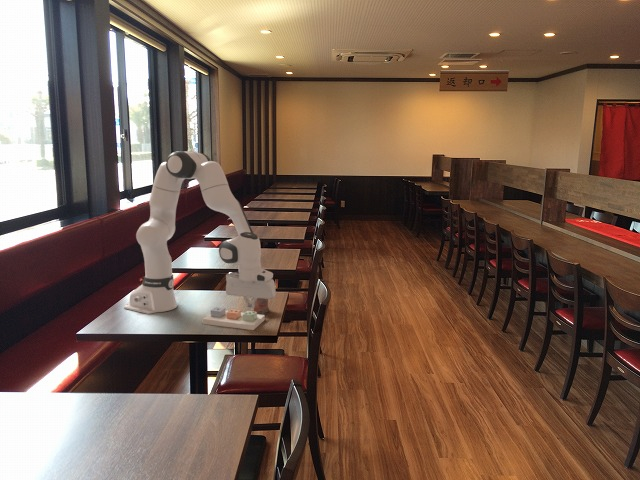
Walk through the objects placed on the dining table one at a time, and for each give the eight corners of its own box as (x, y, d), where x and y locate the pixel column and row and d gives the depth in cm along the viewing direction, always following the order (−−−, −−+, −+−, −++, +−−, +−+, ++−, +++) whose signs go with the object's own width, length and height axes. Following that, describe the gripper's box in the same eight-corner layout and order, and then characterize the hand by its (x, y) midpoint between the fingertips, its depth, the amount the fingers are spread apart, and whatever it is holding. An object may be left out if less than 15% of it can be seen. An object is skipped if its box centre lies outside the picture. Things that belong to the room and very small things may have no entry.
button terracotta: (226, 319, 205) (226, 312, 205) (231, 315, 209) (231, 308, 209) (236, 320, 204) (236, 313, 203) (241, 317, 208) (241, 309, 208)
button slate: (210, 317, 207) (210, 310, 206) (216, 313, 211) (215, 306, 211) (220, 318, 206) (220, 311, 205) (225, 315, 210) (225, 307, 209)
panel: (202, 323, 204) (202, 318, 204) (216, 313, 216) (216, 309, 215) (253, 330, 198) (253, 325, 198) (264, 319, 210) (264, 315, 209)
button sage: (242, 321, 203) (242, 314, 203) (247, 317, 207) (247, 310, 207) (252, 322, 202) (252, 315, 202) (257, 318, 206) (257, 311, 206)
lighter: (257, 315, 214) (257, 292, 212) (251, 313, 216) (251, 291, 214) (270, 310, 221) (270, 288, 219) (264, 308, 223) (264, 286, 221)
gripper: (222, 273, 201) (223, 307, 204) (271, 277, 195) (271, 312, 198) (229, 269, 207) (230, 302, 210) (276, 273, 201) (277, 307, 204)
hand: (250, 307), depth 204 cm, fingers closed
